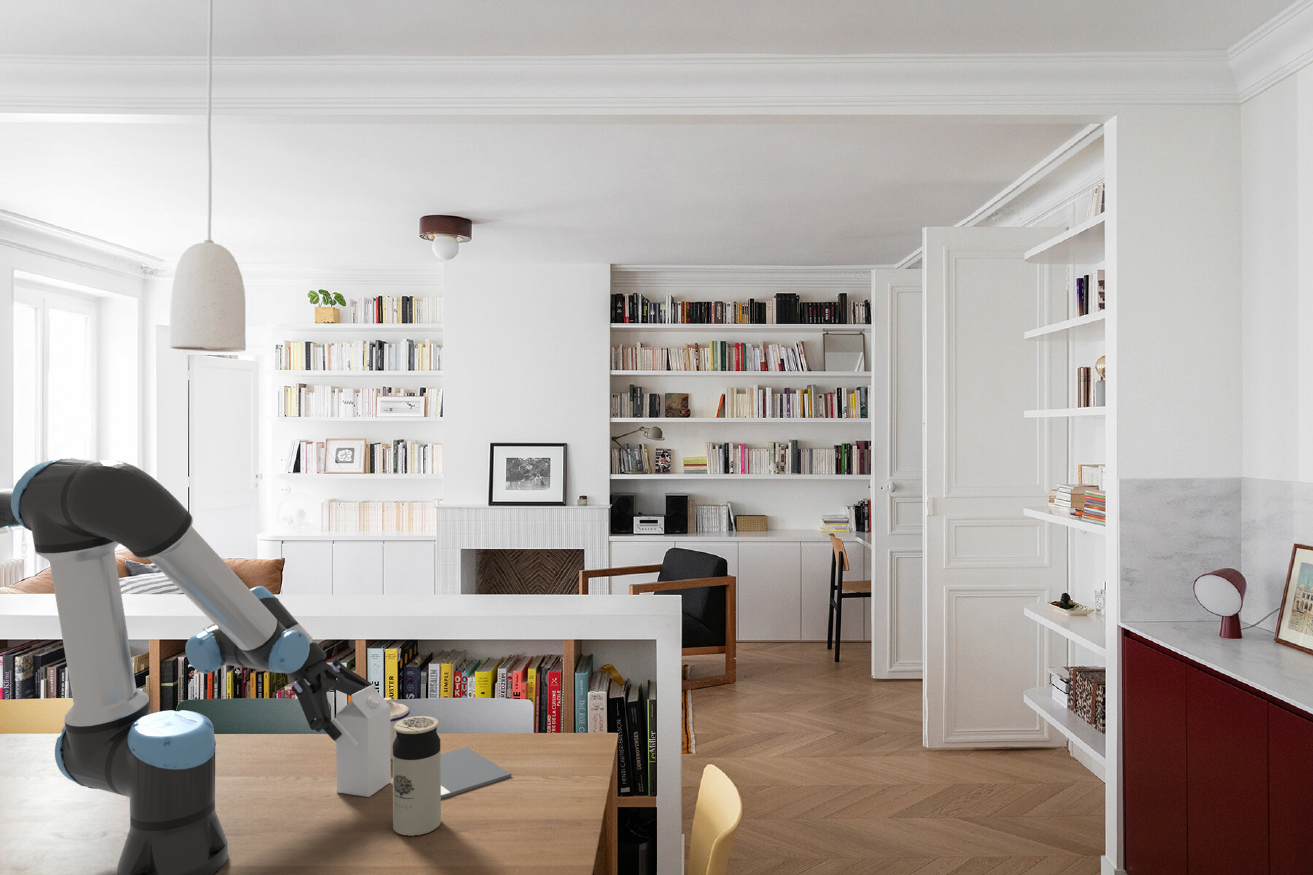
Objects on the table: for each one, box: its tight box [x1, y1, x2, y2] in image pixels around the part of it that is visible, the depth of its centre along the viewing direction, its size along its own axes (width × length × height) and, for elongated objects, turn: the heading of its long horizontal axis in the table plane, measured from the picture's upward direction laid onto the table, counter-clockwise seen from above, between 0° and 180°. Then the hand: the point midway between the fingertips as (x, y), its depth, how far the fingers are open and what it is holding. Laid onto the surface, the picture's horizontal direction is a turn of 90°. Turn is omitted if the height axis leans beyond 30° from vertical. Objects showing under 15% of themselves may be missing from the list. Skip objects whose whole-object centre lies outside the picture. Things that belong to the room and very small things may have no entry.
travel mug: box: [392, 715, 442, 837], centre depth 147 cm, size 8×8×18 cm
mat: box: [440, 746, 512, 800], centre depth 169 cm, size 18×16×1 cm
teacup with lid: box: [383, 697, 411, 761], centre depth 178 cm, size 12×9×12 cm
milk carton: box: [335, 683, 392, 798], centre depth 162 cm, size 7×7×19 cm
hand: (371, 735), depth 163 cm, fingers open, 13 cm apart
